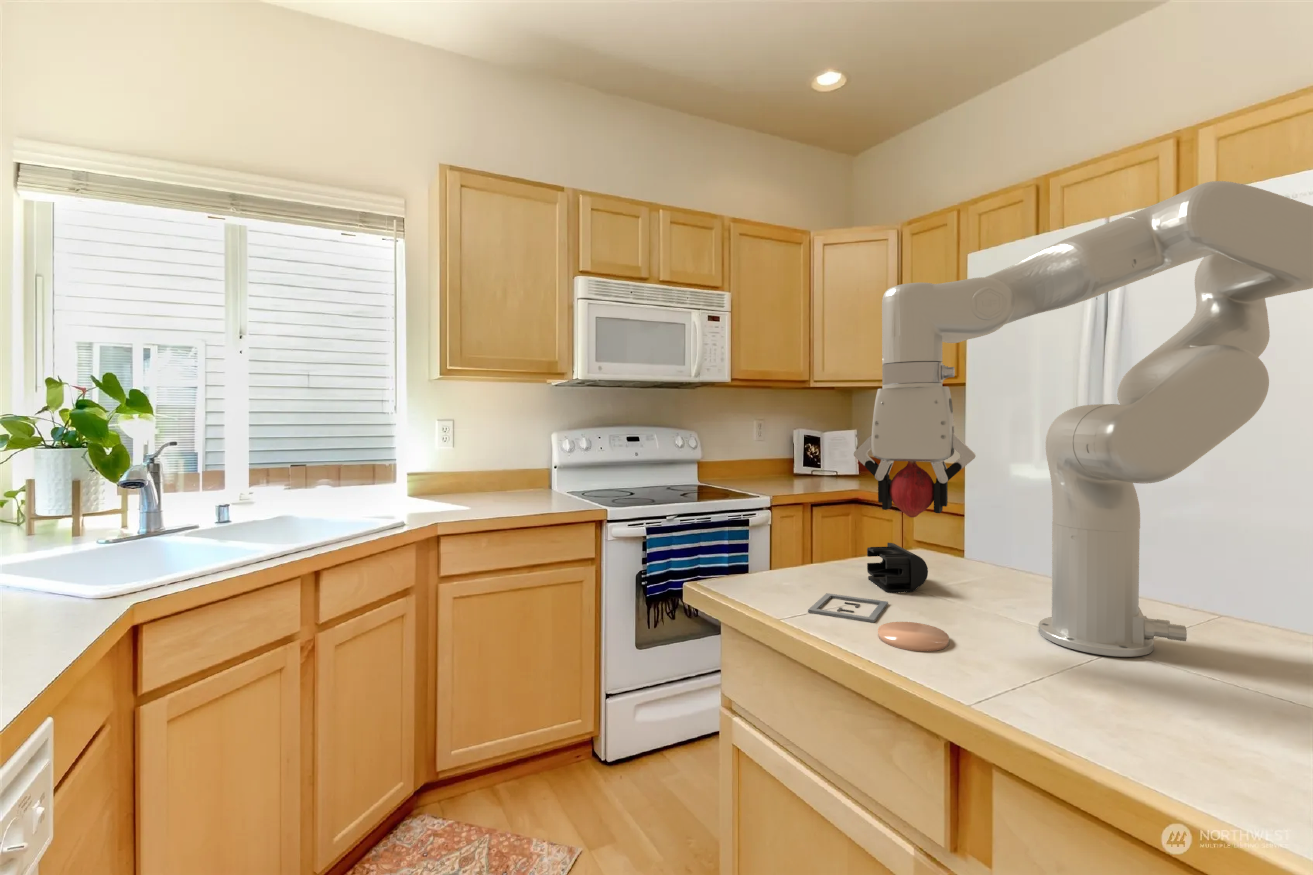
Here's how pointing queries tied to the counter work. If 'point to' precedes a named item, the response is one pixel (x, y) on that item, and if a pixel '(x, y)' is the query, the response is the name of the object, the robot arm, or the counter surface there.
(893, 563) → the end cap
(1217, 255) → the robot arm
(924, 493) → the onion
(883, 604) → the frame
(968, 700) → the counter surface
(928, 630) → the disc
